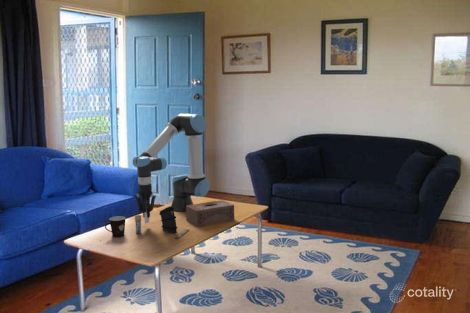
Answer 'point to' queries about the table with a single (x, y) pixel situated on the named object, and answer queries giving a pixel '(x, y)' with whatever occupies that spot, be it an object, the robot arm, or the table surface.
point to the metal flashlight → (138, 224)
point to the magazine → (168, 220)
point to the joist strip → (181, 234)
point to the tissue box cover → (209, 213)
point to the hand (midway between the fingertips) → (147, 222)
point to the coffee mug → (117, 226)
